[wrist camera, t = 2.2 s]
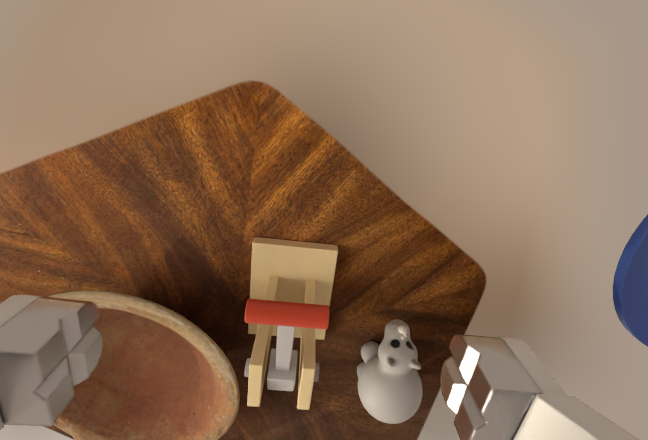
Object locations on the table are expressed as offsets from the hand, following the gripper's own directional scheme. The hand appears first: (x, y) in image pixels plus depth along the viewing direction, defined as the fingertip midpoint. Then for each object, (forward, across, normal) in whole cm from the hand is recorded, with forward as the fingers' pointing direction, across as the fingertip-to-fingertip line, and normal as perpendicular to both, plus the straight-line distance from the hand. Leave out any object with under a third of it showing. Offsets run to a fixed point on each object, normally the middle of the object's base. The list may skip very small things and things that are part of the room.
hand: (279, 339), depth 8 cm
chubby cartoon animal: (+27, -12, +23) cm, 38 cm away
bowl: (+27, +16, +26) cm, 41 cm away
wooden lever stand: (+27, 0, +17) cm, 32 cm away
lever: (+14, 0, +12) cm, 19 cm away
